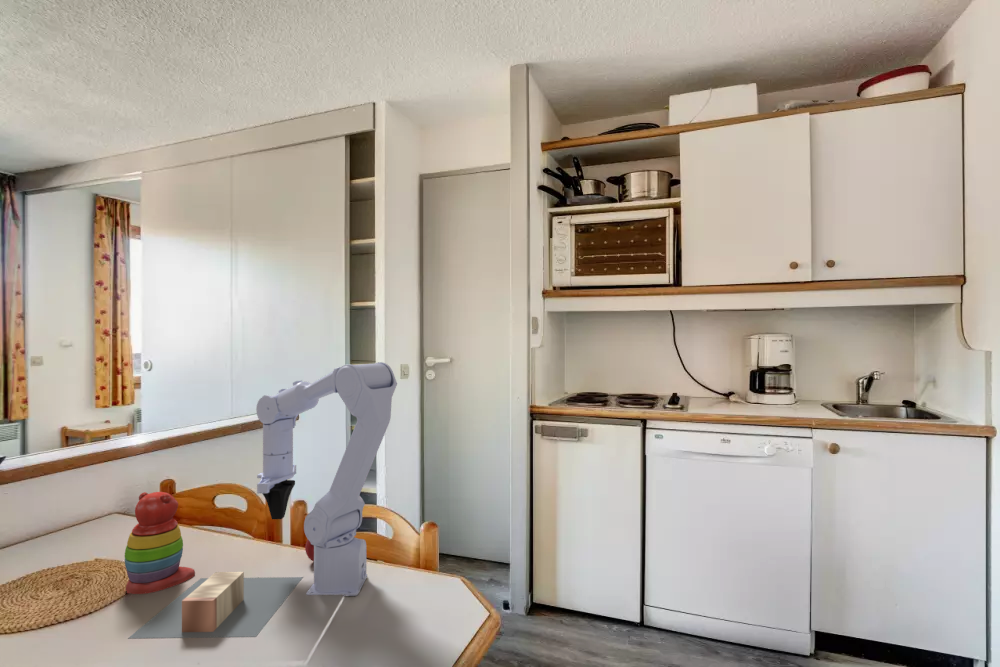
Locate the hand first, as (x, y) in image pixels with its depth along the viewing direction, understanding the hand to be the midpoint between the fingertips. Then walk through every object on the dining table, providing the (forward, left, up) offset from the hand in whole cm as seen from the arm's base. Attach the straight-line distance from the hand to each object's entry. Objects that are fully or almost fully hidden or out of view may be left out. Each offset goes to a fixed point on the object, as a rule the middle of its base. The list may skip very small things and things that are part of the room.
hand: (278, 518), depth 105 cm
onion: (-8, -2, -11) cm, 13 cm away
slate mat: (+3, +15, -10) cm, 18 cm away
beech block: (+3, +14, -7) cm, 16 cm away
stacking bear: (+21, +6, -11) cm, 24 cm away
